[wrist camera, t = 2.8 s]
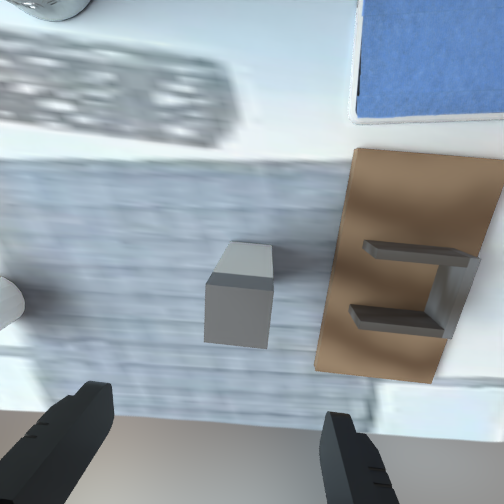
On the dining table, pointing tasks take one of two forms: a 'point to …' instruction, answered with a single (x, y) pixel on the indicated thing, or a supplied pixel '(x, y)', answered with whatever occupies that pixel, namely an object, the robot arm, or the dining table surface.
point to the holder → (404, 261)
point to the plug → (240, 296)
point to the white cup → (10, 302)
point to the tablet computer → (427, 61)
